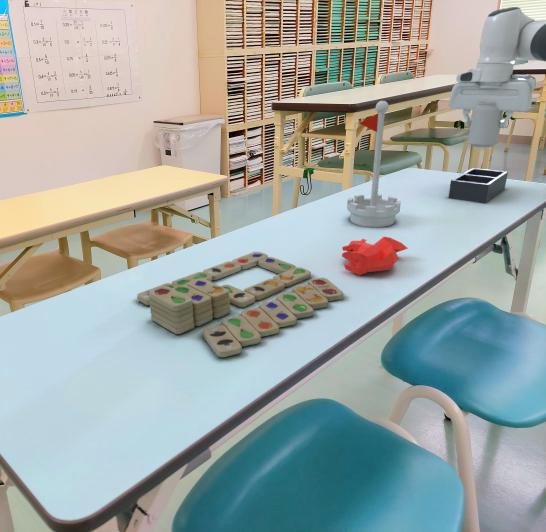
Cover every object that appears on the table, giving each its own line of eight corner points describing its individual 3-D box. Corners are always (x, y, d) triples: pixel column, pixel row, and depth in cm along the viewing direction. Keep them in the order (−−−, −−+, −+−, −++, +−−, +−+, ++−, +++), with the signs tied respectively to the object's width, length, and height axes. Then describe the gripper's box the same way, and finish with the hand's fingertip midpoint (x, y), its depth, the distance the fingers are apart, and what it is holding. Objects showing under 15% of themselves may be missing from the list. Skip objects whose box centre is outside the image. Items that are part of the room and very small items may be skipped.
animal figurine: (414, 259, 110) (417, 237, 108) (381, 282, 100) (384, 257, 99) (364, 247, 118) (366, 226, 116) (329, 267, 108) (330, 245, 106)
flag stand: (389, 212, 142) (401, 97, 130) (405, 227, 130) (420, 102, 118) (341, 213, 142) (348, 99, 131) (352, 229, 130) (362, 104, 119)
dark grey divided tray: (504, 188, 159) (508, 171, 157) (485, 203, 146) (488, 184, 144) (469, 184, 165) (472, 168, 163) (448, 198, 152) (450, 180, 150)
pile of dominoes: (222, 364, 76) (221, 331, 74) (123, 305, 96) (120, 277, 94) (360, 292, 97) (362, 264, 95) (255, 255, 116) (255, 231, 114)
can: (469, 147, 146) (476, 103, 141) (465, 143, 152) (472, 100, 148) (499, 148, 143) (507, 102, 139) (494, 143, 150) (501, 100, 145)
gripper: (540, 73, 136) (529, 127, 141) (458, 73, 149) (451, 123, 154) (534, 75, 132) (523, 130, 137) (450, 75, 145) (443, 126, 150)
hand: (484, 126), depth 146 cm, fingers closed on can, 7 cm apart
